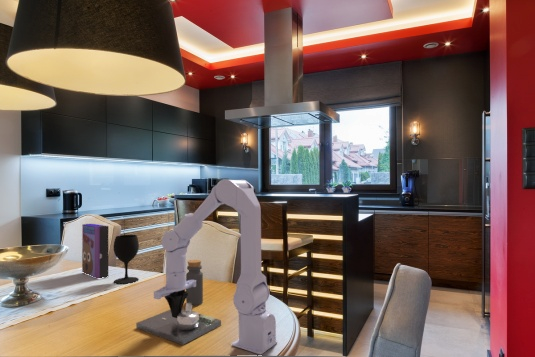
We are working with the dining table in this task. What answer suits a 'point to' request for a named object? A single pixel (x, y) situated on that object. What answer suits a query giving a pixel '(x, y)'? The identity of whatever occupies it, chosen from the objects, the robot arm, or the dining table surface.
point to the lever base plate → (168, 328)
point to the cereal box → (95, 250)
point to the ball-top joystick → (188, 319)
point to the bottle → (196, 292)
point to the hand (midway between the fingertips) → (176, 316)
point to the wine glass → (126, 254)
